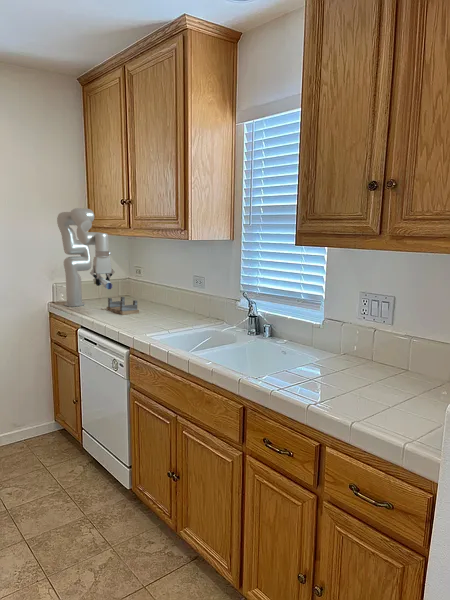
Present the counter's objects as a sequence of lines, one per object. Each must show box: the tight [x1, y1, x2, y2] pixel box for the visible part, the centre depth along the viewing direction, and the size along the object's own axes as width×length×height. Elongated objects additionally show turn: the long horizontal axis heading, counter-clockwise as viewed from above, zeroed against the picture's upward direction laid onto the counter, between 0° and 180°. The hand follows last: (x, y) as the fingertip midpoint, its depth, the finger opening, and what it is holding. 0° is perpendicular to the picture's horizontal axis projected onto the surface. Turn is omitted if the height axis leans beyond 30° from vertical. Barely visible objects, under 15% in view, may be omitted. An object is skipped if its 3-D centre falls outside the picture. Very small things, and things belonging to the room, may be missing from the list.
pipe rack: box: [106, 296, 140, 316], centre depth 279 cm, size 21×11×8 cm, turn 40°
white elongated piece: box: [92, 274, 113, 290], centre depth 268 cm, size 5×7×25 cm
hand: (102, 284), depth 269 cm, fingers closed on white elongated piece, 5 cm apart
